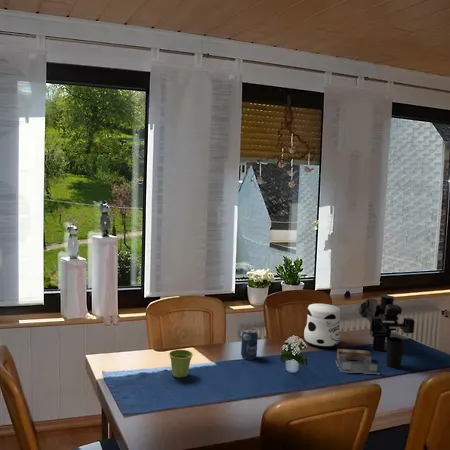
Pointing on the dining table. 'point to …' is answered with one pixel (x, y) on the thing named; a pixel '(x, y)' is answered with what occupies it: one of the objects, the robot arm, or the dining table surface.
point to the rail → (353, 354)
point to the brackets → (357, 365)
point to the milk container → (322, 325)
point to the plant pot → (180, 362)
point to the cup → (394, 351)
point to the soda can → (249, 344)
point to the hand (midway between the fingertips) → (397, 331)
